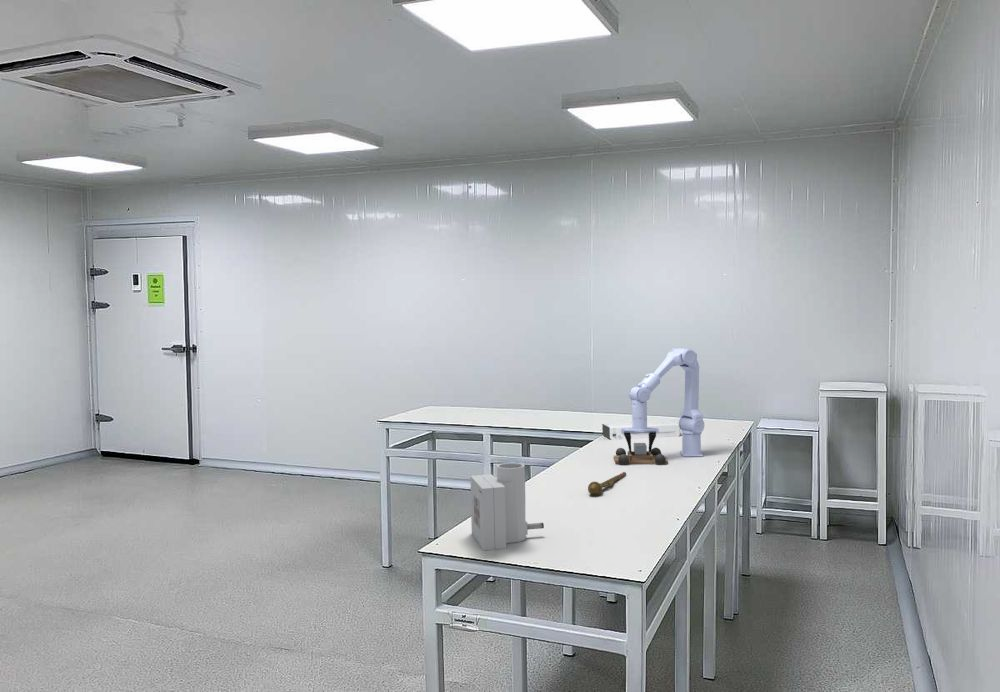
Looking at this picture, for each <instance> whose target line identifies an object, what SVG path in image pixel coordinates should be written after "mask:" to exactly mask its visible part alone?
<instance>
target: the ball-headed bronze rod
mask: <svg viewBox="0 0 1000 692" xmlns="http://www.w3.org/2000/svg"><path fill="white" fill-rule="evenodd" d="M626 476H627V472H625V471H623V472H621V473H619V474H617V475H614V476H613V477H611V478H608V479H606V480H605V481H603V482H600V483H599V481H591V482H590V483H589V484H588V487H587V490H588V491H587V492H588V494H590V496H595V497H597V496H601V494H602V492H603V489H604V488H607V487H611V486H612V485H613V484H614V483H615V482H616V481H618V480H620V479H622V478H624V477H626Z"/></svg>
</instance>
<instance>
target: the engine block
mask: <svg viewBox="0 0 1000 692" xmlns="http://www.w3.org/2000/svg"><path fill="white" fill-rule="evenodd" d="M647 446H648V445H647V444H646V442H633V451H634V456H647V451H648V449H647V448H648V447H647Z"/></svg>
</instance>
